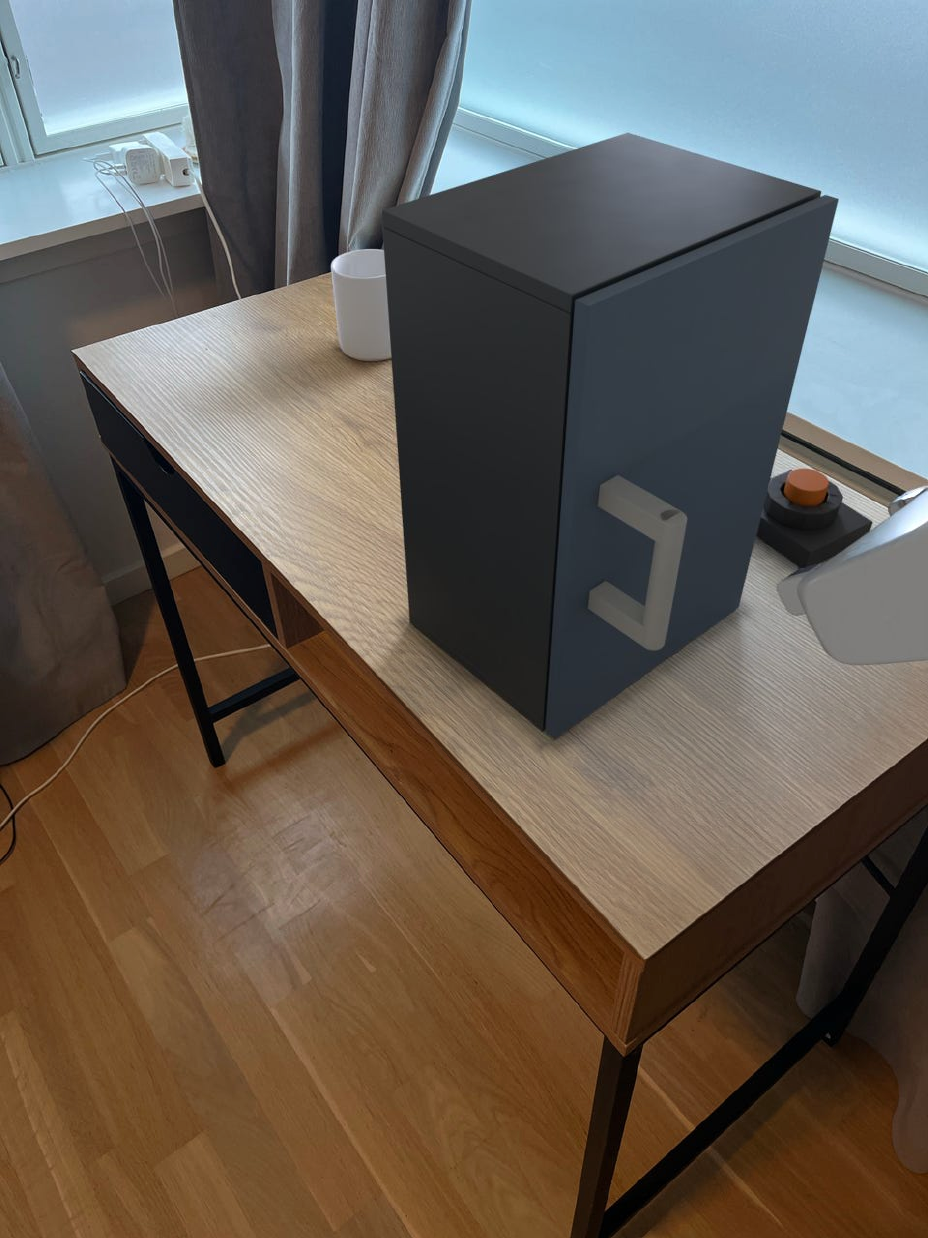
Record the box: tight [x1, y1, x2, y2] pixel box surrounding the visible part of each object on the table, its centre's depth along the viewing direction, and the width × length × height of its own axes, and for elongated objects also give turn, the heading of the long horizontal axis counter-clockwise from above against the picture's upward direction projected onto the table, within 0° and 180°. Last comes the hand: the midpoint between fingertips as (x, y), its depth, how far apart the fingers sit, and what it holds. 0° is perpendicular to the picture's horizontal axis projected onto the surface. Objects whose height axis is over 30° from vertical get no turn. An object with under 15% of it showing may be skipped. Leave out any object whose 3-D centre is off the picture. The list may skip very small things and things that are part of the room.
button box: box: [756, 469, 874, 569], centre depth 89 cm, size 10×8×4 cm
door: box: [544, 194, 840, 741], centre depth 64 cm, size 7×22×34 cm, turn 131°
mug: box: [330, 248, 391, 362], centre depth 115 cm, size 12×8×10 cm
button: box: [784, 468, 830, 506], centre depth 87 cm, size 4×4×2 cm
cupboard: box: [380, 132, 822, 732], centre depth 70 cm, size 16×22×34 cm
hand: (847, 552), depth 47 cm, fingers open, 8 cm apart
